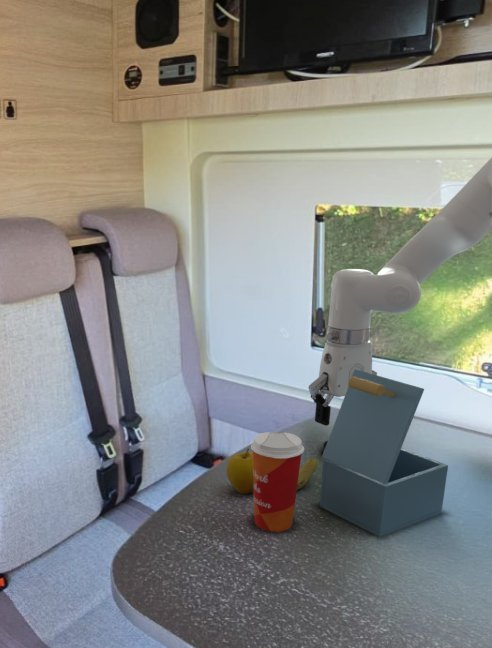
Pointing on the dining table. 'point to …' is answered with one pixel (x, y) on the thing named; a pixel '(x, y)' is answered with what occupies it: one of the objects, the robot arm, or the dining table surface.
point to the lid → (372, 424)
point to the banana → (306, 472)
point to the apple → (241, 472)
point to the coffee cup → (275, 479)
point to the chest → (385, 493)
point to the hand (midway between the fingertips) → (339, 418)
